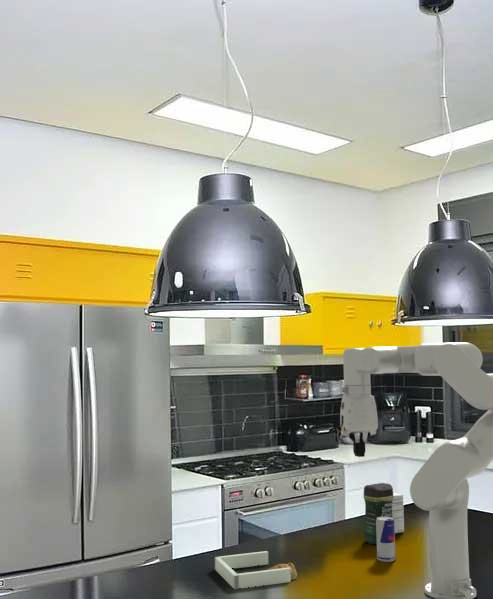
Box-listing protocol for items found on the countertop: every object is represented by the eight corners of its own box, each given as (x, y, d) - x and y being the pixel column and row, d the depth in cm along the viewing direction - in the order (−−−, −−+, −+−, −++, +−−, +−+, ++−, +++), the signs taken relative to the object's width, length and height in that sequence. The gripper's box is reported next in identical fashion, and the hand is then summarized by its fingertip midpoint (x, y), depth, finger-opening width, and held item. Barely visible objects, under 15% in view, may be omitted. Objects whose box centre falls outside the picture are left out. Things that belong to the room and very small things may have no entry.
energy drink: (395, 562, 206) (394, 520, 207) (377, 561, 207) (375, 520, 208) (395, 557, 211) (394, 516, 212) (377, 556, 212) (376, 516, 213)
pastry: (266, 584, 190) (266, 570, 190) (258, 577, 196) (258, 563, 196) (299, 580, 193) (298, 565, 193) (289, 573, 199) (289, 559, 199)
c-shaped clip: (290, 581, 191) (290, 568, 191) (234, 589, 185) (234, 575, 186) (267, 563, 208) (266, 551, 208) (214, 569, 203) (214, 557, 203)
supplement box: (374, 529, 244) (373, 492, 245) (392, 527, 247) (390, 490, 248) (387, 534, 238) (385, 496, 238) (405, 532, 241) (403, 494, 242)
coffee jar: (377, 547, 223) (375, 487, 224) (360, 541, 229) (358, 483, 231) (399, 542, 228) (397, 483, 230) (382, 536, 235) (380, 480, 236)
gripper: (339, 392, 196) (341, 459, 194) (387, 390, 201) (389, 456, 199) (328, 391, 203) (329, 456, 201) (374, 389, 208) (376, 452, 206)
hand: (359, 456), depth 200 cm, fingers closed
